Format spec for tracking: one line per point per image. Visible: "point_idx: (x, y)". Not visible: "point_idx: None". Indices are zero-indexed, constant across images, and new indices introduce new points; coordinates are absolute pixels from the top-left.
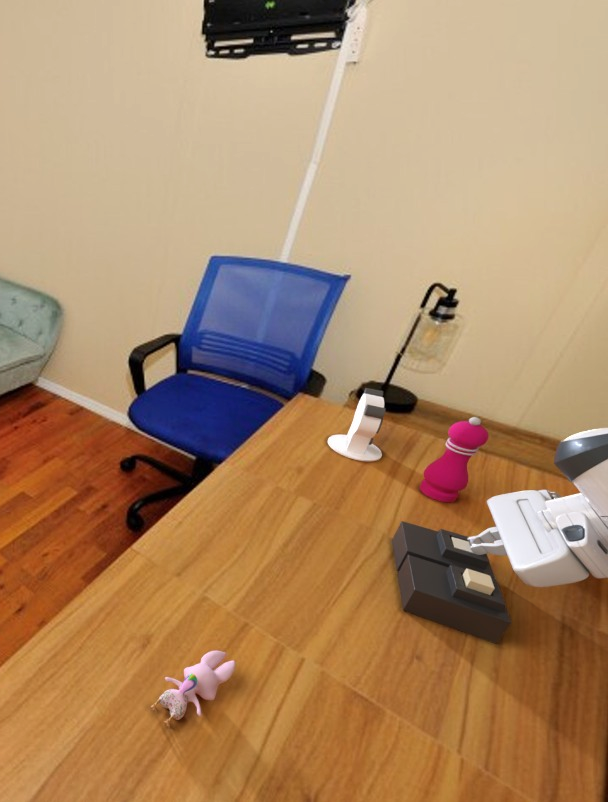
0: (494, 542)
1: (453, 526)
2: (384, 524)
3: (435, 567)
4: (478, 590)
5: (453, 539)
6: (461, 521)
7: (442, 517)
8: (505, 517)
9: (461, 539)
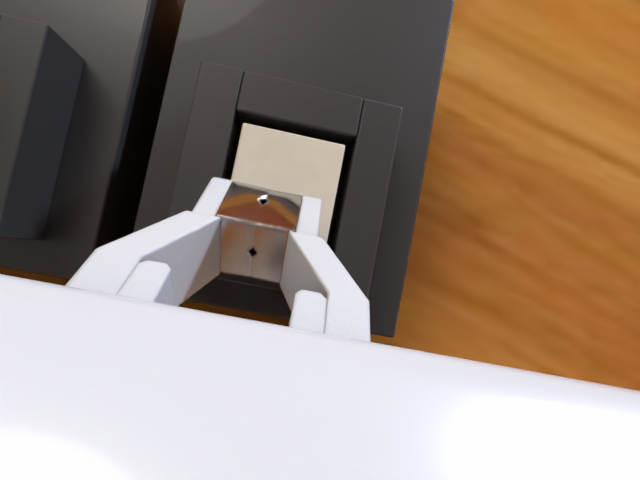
0: (153, 264)
1: (580, 336)
2: (497, 79)
3: (105, 22)
4: None
5: (320, 145)
6: (624, 378)
7: (624, 315)
8: (460, 472)
9: (344, 198)
